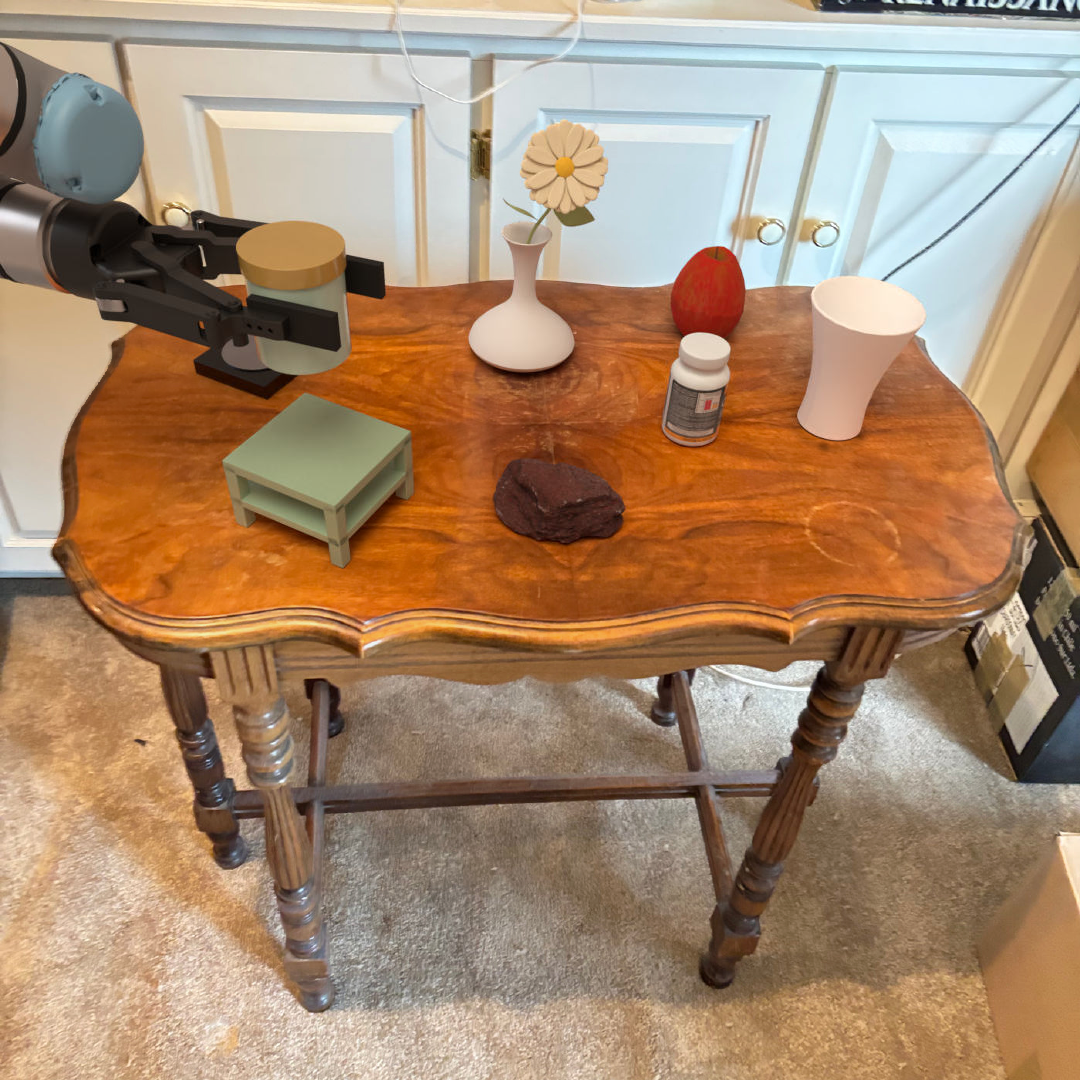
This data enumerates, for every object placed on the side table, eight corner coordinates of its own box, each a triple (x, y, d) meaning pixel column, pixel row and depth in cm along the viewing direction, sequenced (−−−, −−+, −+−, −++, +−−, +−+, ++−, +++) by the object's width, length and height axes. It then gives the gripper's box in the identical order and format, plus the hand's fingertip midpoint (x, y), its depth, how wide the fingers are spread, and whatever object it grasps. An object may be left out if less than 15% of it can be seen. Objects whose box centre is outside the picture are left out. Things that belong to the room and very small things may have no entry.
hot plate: (195, 373, 96) (192, 358, 94) (253, 332, 102) (250, 318, 100) (266, 400, 93) (264, 384, 92) (321, 356, 99) (319, 342, 98)
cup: (902, 437, 94) (951, 319, 85) (823, 464, 91) (864, 344, 81) (833, 382, 101) (871, 267, 92) (756, 405, 97) (788, 287, 88)
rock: (612, 561, 83) (596, 494, 88) (640, 515, 79) (621, 447, 84) (496, 551, 80) (486, 481, 85) (518, 502, 75) (506, 432, 80)
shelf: (236, 523, 80) (221, 460, 75) (314, 453, 88) (305, 391, 83) (342, 568, 77) (334, 506, 72) (414, 492, 84) (411, 430, 80)
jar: (233, 358, 70) (212, 251, 64) (295, 314, 75) (281, 211, 69) (315, 388, 68) (301, 280, 62) (373, 341, 72) (365, 237, 67)
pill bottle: (727, 442, 92) (748, 357, 85) (676, 453, 91) (693, 367, 84) (700, 409, 96) (718, 324, 89) (650, 419, 94) (664, 334, 87)
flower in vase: (455, 371, 98) (453, 129, 81) (484, 317, 106) (488, 86, 89) (576, 393, 97) (601, 151, 79) (596, 337, 105) (623, 105, 88)
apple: (690, 307, 111) (706, 220, 103) (751, 333, 107) (772, 246, 100) (651, 334, 106) (665, 245, 98) (713, 362, 102) (733, 272, 95)
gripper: (165, 237, 80) (415, 288, 77) (6, 356, 66) (302, 426, 62) (145, 148, 75) (412, 199, 71) (-33, 257, 61) (288, 328, 57)
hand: (360, 305), depth 67 cm, fingers closed on jar, 7 cm apart
